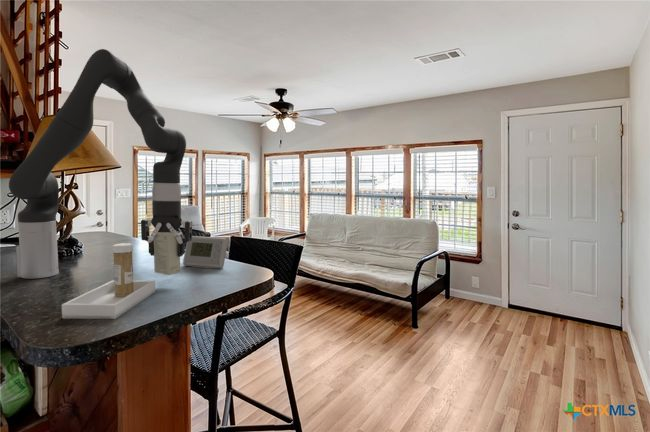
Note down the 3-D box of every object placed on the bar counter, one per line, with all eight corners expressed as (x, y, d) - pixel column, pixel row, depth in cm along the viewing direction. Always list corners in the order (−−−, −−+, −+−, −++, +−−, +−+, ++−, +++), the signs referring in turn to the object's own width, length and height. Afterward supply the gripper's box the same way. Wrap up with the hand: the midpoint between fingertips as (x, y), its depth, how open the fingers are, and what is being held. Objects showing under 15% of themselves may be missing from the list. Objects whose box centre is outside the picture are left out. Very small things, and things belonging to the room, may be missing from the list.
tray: (62, 318, 79) (61, 304, 78) (112, 291, 98) (112, 280, 98) (115, 318, 79) (114, 305, 79) (155, 291, 98) (155, 280, 98)
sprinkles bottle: (135, 295, 93) (133, 244, 92) (114, 298, 90) (113, 246, 89) (133, 291, 97) (131, 242, 95) (113, 293, 94) (111, 243, 93)
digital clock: (180, 266, 129) (179, 237, 128) (198, 261, 137) (198, 234, 136) (215, 271, 122) (214, 241, 121) (232, 266, 130) (232, 237, 129)
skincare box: (180, 272, 105) (180, 231, 104) (168, 275, 101) (168, 233, 100) (165, 269, 107) (165, 229, 106) (152, 272, 103) (152, 231, 102)
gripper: (134, 198, 98) (135, 257, 100) (187, 200, 98) (187, 259, 100) (147, 197, 106) (148, 252, 107) (196, 199, 106) (196, 254, 107)
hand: (167, 255), depth 104 cm, fingers closed on skincare box, 7 cm apart
